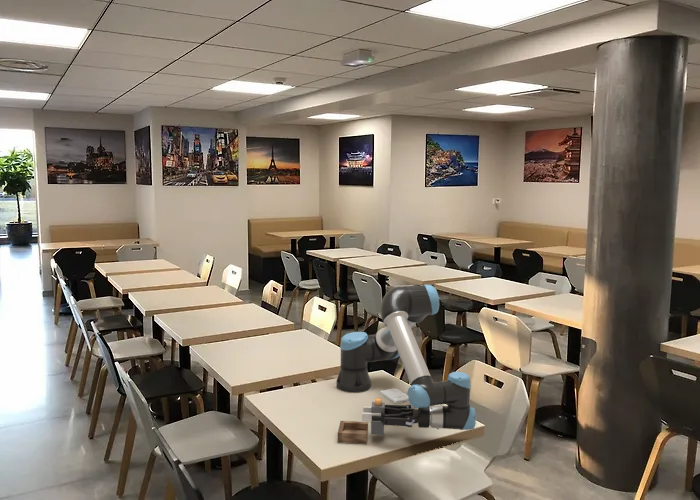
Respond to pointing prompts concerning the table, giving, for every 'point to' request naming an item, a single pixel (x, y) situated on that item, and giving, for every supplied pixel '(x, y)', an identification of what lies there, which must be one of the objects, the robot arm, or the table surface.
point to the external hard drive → (395, 395)
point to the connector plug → (377, 407)
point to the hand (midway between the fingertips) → (362, 413)
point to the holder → (353, 432)
